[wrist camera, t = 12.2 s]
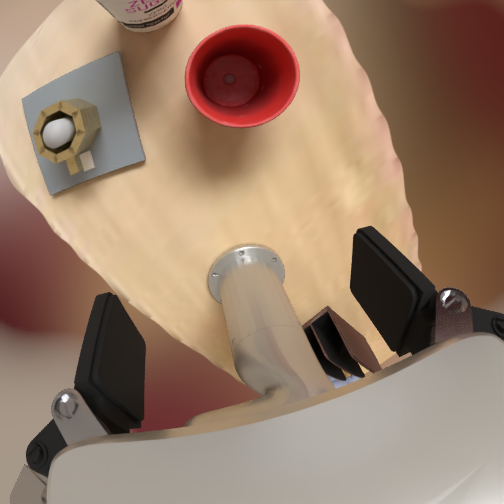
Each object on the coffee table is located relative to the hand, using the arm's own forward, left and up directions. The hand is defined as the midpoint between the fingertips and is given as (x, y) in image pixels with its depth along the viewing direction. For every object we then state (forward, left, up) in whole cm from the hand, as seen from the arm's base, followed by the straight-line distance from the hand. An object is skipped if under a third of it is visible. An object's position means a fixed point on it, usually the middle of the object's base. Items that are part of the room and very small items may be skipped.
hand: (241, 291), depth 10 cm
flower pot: (+8, -5, -29) cm, 30 cm away
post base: (+8, +15, -28) cm, 33 cm away
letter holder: (-46, -18, -29) cm, 57 cm away
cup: (+7, +15, -27) cm, 32 cm away
